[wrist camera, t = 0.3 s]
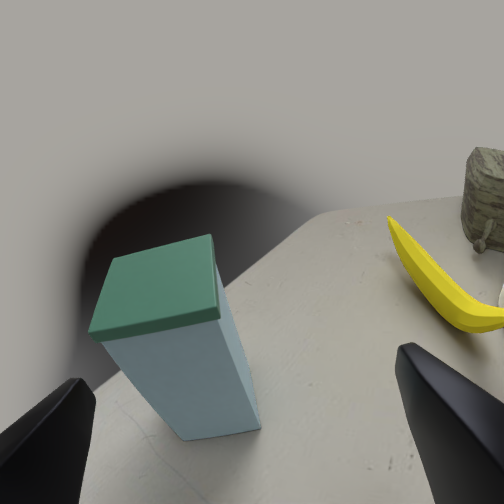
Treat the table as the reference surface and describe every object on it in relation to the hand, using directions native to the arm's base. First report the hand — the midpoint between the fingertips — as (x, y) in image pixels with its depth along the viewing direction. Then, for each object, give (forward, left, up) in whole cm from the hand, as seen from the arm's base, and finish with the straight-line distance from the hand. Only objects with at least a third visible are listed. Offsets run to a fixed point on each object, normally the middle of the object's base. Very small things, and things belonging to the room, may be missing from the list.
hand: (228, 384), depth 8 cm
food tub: (+8, +5, -15) cm, 18 cm away
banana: (+15, -16, -15) cm, 27 cm away
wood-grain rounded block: (+17, -28, -10) cm, 34 cm away
